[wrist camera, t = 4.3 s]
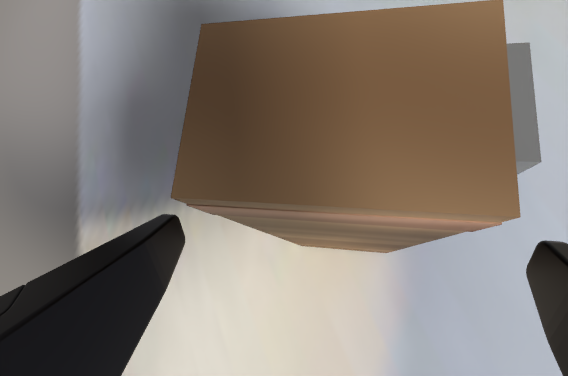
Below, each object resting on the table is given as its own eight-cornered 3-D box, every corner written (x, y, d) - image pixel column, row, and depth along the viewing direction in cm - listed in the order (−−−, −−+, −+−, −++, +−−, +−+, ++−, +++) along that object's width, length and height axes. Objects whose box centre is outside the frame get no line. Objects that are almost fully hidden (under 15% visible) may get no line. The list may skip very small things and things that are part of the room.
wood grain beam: (387, 253, 16) (522, 218, 3) (301, 246, 17) (169, 198, 4) (387, 196, 17) (504, -2, 4) (305, 192, 18) (200, 23, 5)
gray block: (483, 192, 16) (542, 161, 11) (230, 182, 19) (189, 154, 14) (478, 104, 17) (530, 40, 12) (240, 108, 20) (205, 58, 15)
